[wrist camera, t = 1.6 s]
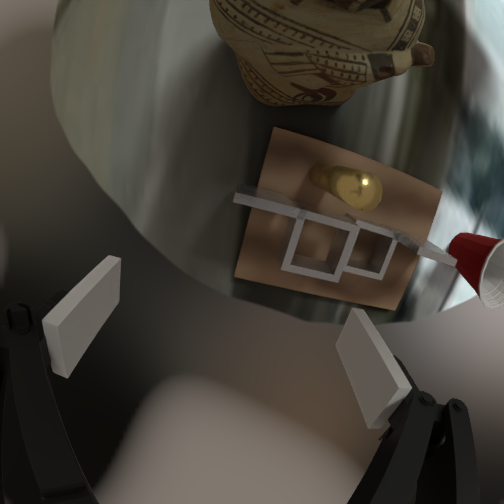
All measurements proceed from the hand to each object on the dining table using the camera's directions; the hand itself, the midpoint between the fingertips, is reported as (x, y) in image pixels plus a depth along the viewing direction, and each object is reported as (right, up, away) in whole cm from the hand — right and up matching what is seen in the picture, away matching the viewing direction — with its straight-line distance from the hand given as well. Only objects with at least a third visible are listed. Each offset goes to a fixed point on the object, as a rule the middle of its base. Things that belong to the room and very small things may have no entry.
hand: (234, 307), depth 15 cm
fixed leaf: (+19, +3, +23) cm, 30 cm away
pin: (+9, +12, +19) cm, 25 cm away
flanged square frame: (+5, +7, +21) cm, 22 cm away
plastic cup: (+36, +4, +24) cm, 44 cm away
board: (+14, +6, +23) cm, 27 cm away
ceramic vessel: (+7, +29, +14) cm, 33 cm away
